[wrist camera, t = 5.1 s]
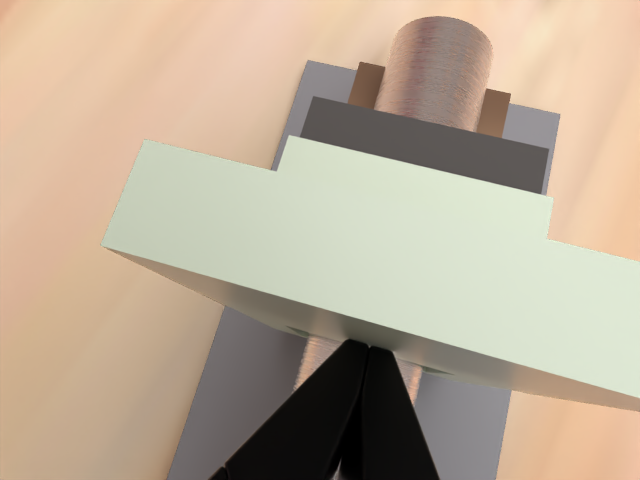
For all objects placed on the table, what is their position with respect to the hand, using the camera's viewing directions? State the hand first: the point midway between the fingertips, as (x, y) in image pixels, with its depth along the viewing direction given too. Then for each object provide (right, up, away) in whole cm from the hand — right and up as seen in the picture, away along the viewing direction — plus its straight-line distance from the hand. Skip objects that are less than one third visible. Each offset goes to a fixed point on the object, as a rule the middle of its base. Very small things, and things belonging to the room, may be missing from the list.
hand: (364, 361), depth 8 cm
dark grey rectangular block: (+2, +3, +7) cm, 8 cm away
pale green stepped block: (+1, 0, +7) cm, 7 cm away
